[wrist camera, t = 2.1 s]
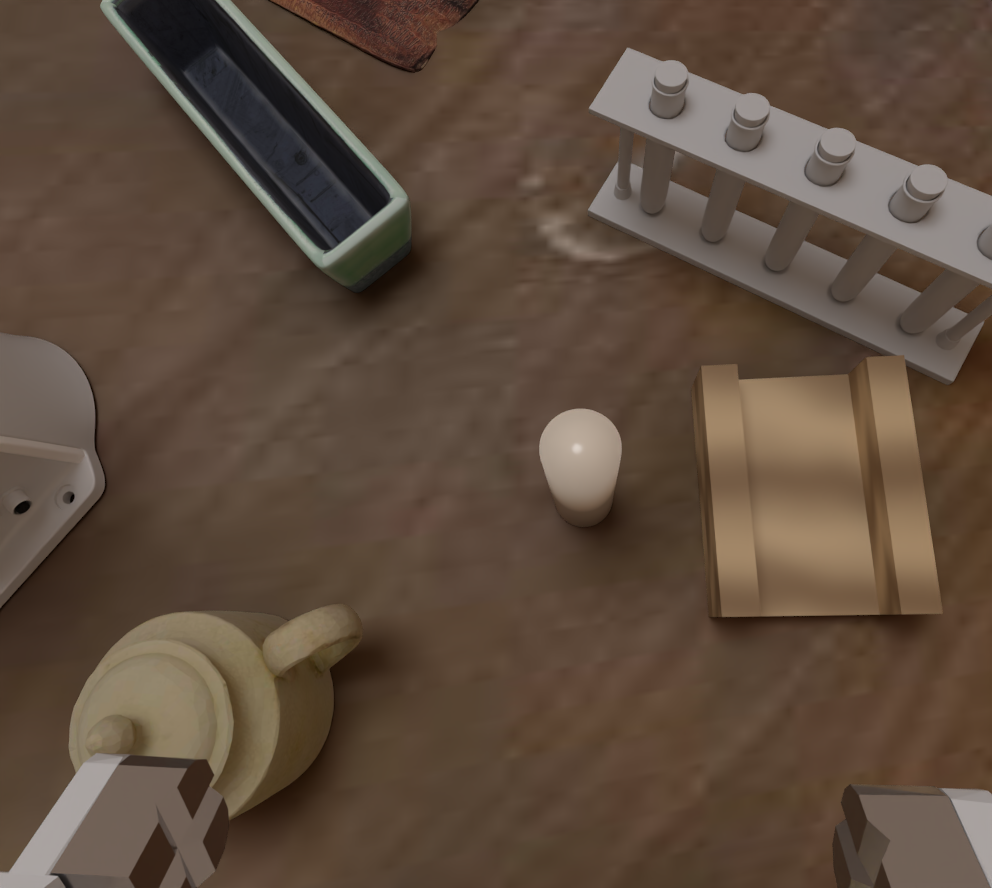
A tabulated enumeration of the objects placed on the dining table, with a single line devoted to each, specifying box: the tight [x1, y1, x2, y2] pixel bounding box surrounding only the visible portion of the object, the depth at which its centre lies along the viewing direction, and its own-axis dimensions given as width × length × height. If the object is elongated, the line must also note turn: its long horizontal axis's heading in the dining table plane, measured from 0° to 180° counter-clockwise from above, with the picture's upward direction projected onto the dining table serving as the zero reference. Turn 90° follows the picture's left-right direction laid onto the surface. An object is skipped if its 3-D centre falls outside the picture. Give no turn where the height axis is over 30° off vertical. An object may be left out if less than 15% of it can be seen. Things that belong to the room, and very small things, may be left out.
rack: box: [691, 355, 943, 617], centre depth 42 cm, size 14×11×4 cm
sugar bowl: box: [69, 604, 363, 820], centre depth 39 cm, size 15×11×15 cm
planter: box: [100, 0, 411, 293], centre depth 51 cm, size 28×7×7 cm, turn 39°
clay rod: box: [539, 409, 622, 527], centre depth 39 cm, size 4×4×14 cm
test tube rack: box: [588, 48, 992, 385], centre depth 42 cm, size 25×4×13 cm, turn 59°
